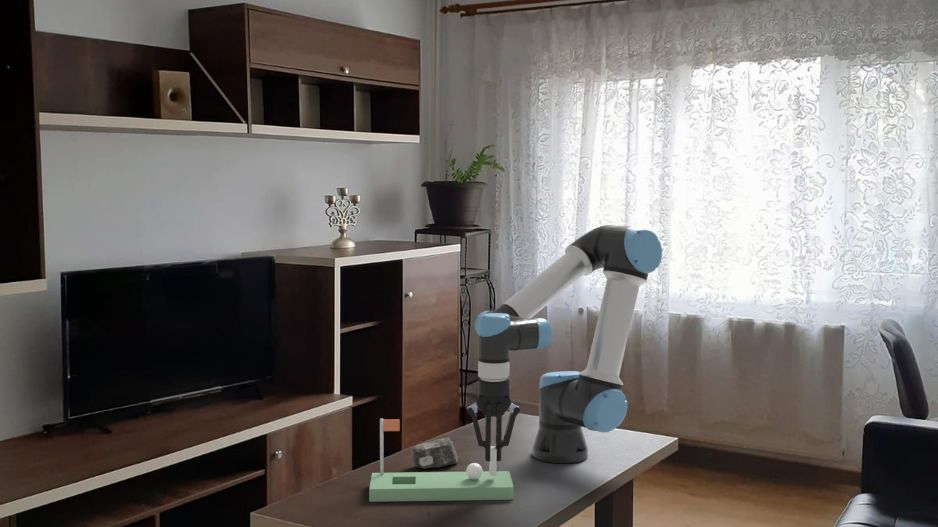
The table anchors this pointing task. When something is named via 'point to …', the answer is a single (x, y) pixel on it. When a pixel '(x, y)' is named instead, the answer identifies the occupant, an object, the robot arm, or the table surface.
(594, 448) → the table surface
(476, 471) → the ball
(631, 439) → the table surface
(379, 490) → the green
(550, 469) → the table surface
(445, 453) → the stone
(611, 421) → the robot arm
